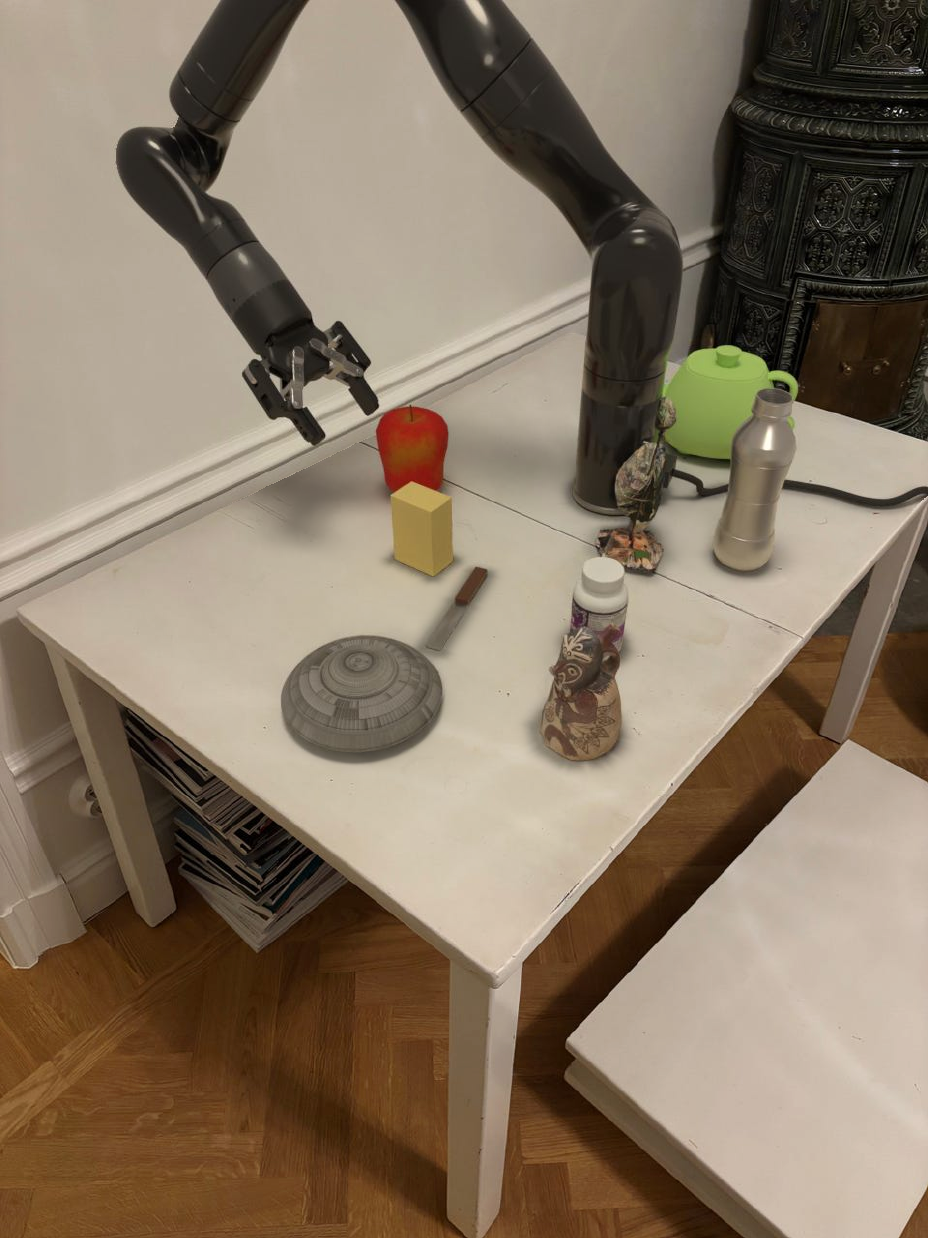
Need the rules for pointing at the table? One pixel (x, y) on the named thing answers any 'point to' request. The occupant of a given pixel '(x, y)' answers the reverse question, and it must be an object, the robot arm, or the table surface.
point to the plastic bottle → (756, 482)
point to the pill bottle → (600, 598)
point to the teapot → (717, 398)
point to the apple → (412, 447)
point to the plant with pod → (640, 499)
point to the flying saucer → (361, 694)
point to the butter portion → (422, 528)
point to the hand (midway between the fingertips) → (347, 426)
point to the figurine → (584, 696)
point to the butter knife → (457, 609)
